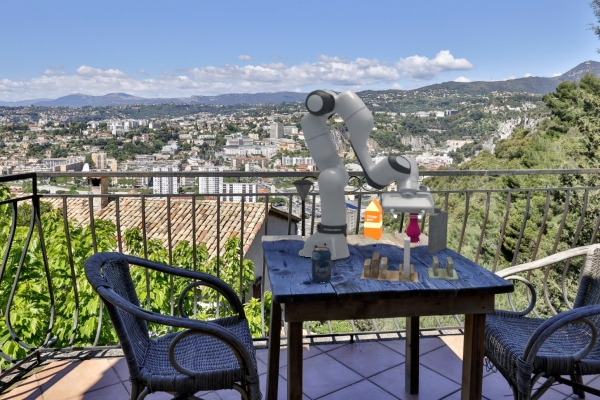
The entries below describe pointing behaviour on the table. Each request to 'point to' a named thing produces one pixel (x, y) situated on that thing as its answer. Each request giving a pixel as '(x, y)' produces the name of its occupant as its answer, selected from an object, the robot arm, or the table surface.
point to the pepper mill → (413, 228)
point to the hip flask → (437, 230)
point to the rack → (385, 271)
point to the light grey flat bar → (406, 257)
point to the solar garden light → (303, 197)
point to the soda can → (321, 264)
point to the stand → (442, 270)
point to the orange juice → (373, 220)
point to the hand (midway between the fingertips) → (407, 220)
